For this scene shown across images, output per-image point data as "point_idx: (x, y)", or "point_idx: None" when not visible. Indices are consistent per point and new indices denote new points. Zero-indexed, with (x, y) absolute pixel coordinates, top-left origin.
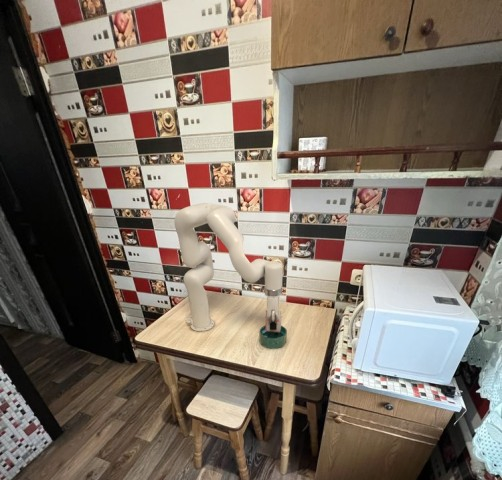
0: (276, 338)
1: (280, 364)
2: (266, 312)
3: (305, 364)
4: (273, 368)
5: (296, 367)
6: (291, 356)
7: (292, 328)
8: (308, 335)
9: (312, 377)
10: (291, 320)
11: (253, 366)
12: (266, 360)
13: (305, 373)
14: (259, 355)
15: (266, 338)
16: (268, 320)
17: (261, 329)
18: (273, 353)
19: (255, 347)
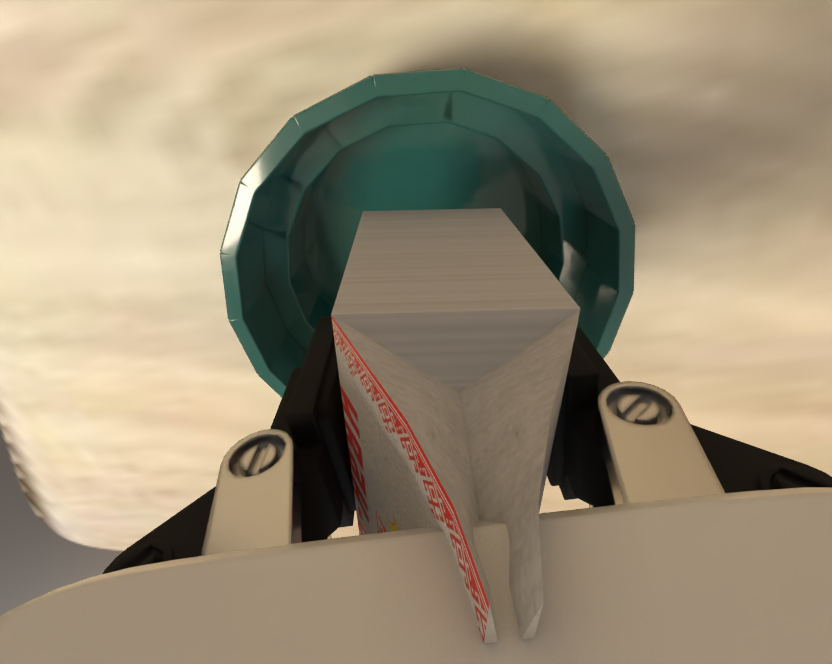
0: (258, 373)
1: (91, 363)
2: (451, 520)
3: (188, 500)
4: (2, 320)
5: (125, 460)
6: (238, 421)
7: (669, 384)
8: (550, 491)
9: (84, 535)
10: (827, 360)
11: None
12: (71, 239)
13: (96, 506)
14: (109, 143)
15: (225, 242)
16: (341, 389)
17: (478, 96)
18: (215, 284)
19: (241, 46)
